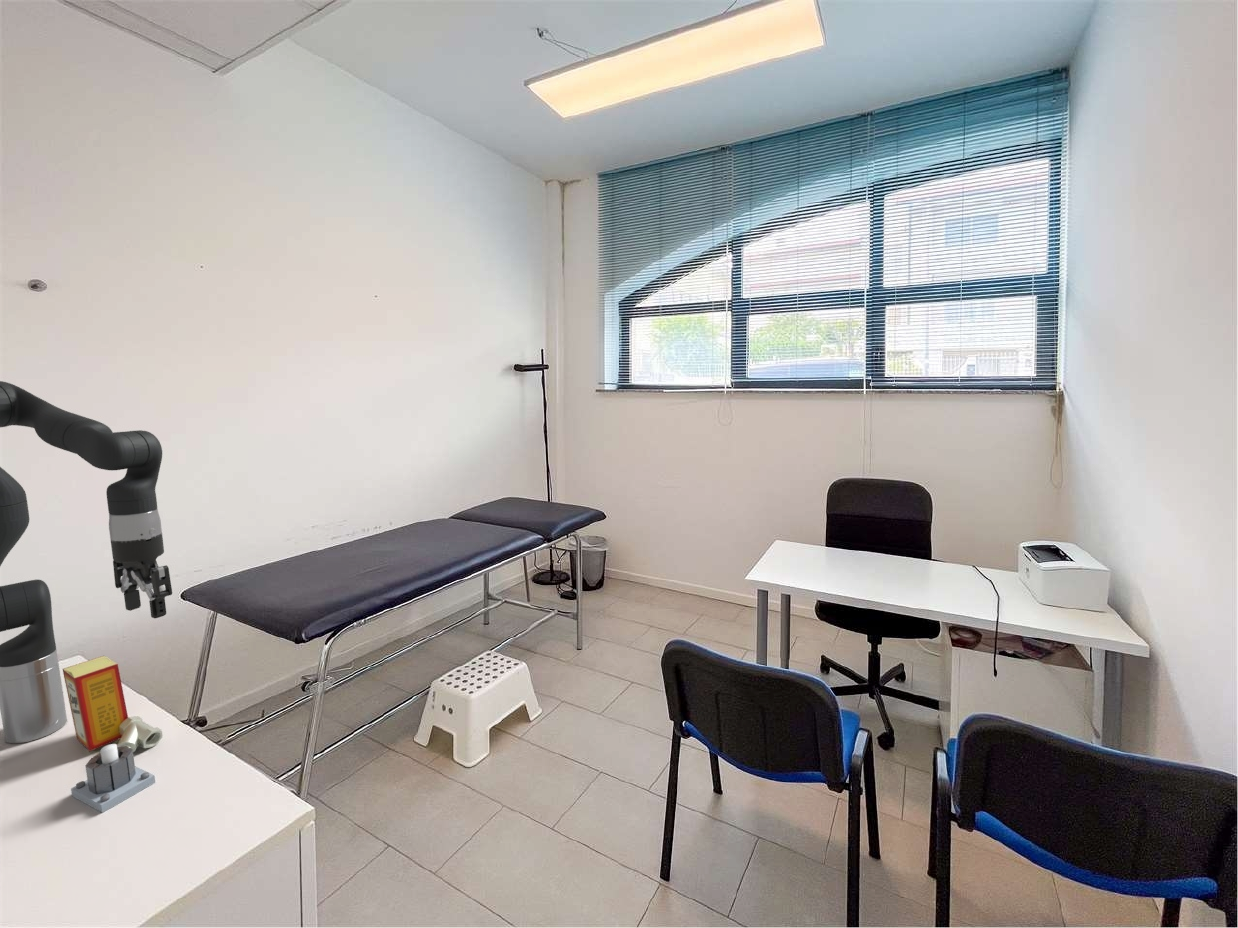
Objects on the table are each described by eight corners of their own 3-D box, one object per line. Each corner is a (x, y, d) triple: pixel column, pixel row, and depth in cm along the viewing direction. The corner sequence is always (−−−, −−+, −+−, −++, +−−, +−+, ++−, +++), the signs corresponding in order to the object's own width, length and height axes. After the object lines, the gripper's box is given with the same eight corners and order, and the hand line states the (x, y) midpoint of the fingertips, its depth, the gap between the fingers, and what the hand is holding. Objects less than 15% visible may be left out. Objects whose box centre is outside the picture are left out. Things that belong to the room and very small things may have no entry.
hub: (83, 787, 99) (79, 763, 98) (123, 766, 105) (120, 743, 104) (101, 797, 97) (98, 772, 96) (141, 775, 102) (138, 751, 102)
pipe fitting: (125, 763, 108) (163, 741, 114) (123, 748, 107) (161, 726, 113) (100, 748, 110) (138, 726, 117) (98, 732, 109) (137, 712, 115)
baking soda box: (76, 738, 115) (62, 667, 113) (117, 721, 120) (103, 653, 118) (89, 751, 109) (74, 676, 108) (131, 733, 115) (117, 662, 113)
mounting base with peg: (71, 795, 99) (65, 753, 98) (125, 767, 106) (119, 728, 105) (102, 812, 95) (96, 769, 94) (155, 782, 103) (150, 741, 101)
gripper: (91, 534, 104) (102, 613, 106) (134, 543, 98) (145, 627, 101) (138, 525, 111) (147, 600, 113) (180, 533, 105) (189, 611, 108)
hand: (146, 612), depth 107 cm, fingers open, 8 cm apart
